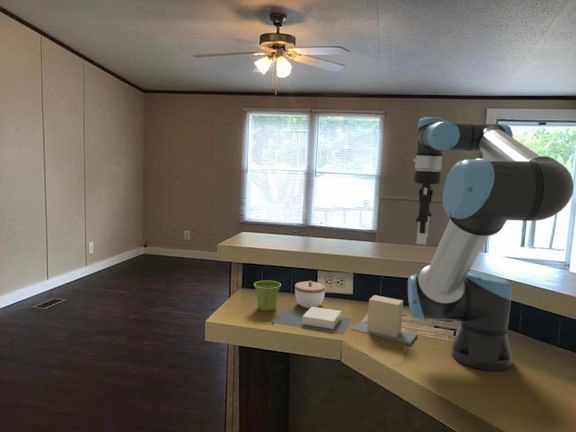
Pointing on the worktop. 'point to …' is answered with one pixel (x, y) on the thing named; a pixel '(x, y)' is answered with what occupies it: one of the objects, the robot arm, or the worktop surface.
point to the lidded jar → (309, 294)
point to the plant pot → (267, 294)
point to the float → (385, 320)
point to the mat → (296, 318)
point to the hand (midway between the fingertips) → (422, 240)
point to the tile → (321, 317)
